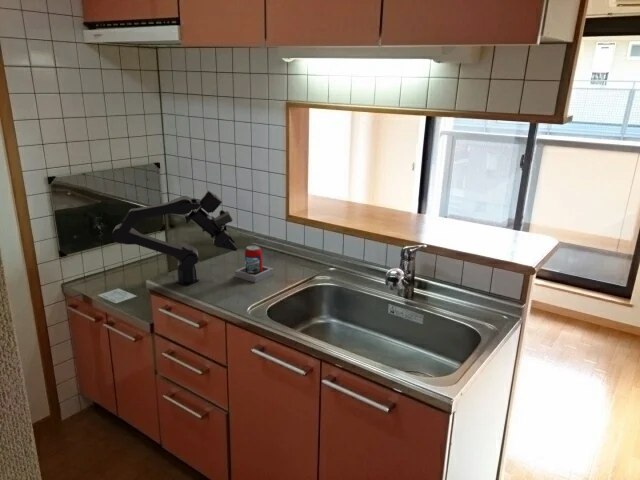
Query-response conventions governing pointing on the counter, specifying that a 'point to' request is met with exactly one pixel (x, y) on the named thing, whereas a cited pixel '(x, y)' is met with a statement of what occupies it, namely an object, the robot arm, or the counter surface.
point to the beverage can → (253, 260)
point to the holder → (254, 278)
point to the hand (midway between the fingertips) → (235, 246)
